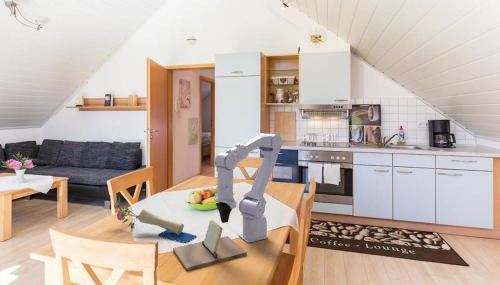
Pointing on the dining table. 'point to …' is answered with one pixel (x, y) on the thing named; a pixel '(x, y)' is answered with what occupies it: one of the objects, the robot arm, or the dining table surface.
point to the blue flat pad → (177, 236)
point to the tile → (213, 236)
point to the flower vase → (149, 219)
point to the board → (207, 253)
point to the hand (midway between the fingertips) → (224, 222)
